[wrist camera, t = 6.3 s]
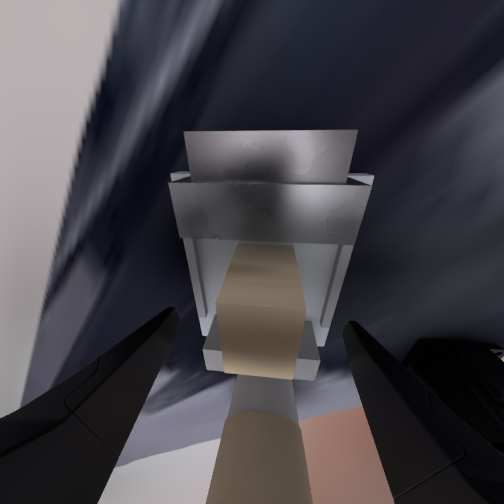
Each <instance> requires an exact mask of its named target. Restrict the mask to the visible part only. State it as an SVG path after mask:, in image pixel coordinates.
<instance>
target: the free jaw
mask: <svg viewBox="0 0 504 504" xmlns="http://www.w3.org/2000/svg"><path fill="white" fill-rule="evenodd" d="M357 133H358V130H285V131H190V132H184V137H185V144H186V150H187V157H188V163H189V170H190V176H188V177H184V178H181V179H178V180H175V181H172V182H169V183H168V184H169V188H170V193H171V198H172V203H173V208H174V212H175V217H176V222H177V227H178V232H179V236H180V238H195V239H218V240H242V241H266V242H289V243H313V244H336V245H355V242H356V238H357V235H358V232H359V228H360V225H361V221H362V218H363V215H364V211H365V208H366V205H367V201H368V198H369V195H370V191H371V188H372V186H371V185H369V184H366V183H363V182H361V181H358V180H355V179H353V178H350V177H347V176H348V172H349V168H350V163H351V159H352V155H353V150H354V146H355V142H356V137H357Z"/></svg>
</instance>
